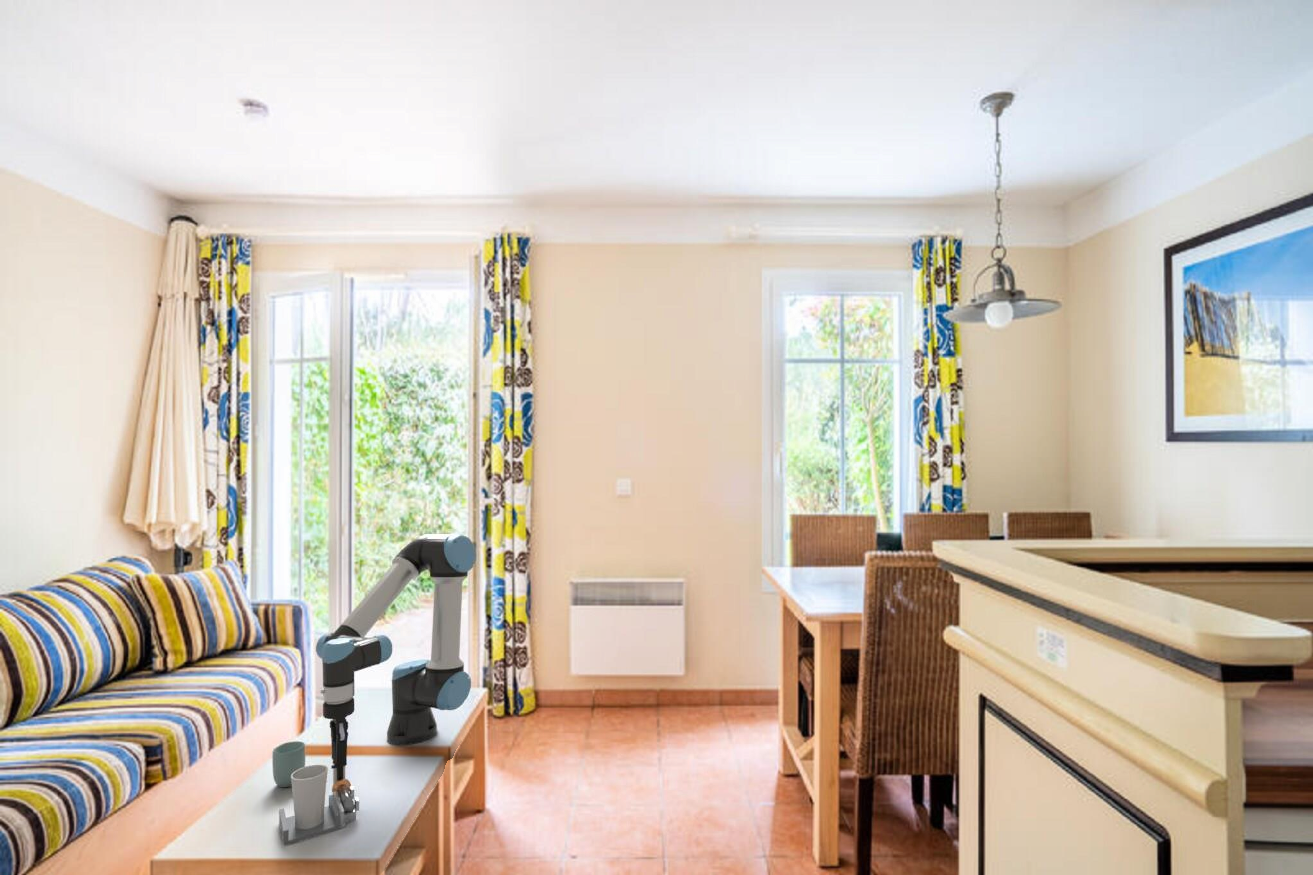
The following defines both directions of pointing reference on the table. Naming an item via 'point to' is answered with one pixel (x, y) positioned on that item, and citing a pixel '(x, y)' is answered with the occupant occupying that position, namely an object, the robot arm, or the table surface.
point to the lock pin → (344, 794)
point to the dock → (294, 835)
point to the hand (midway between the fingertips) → (339, 790)
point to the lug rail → (344, 816)
